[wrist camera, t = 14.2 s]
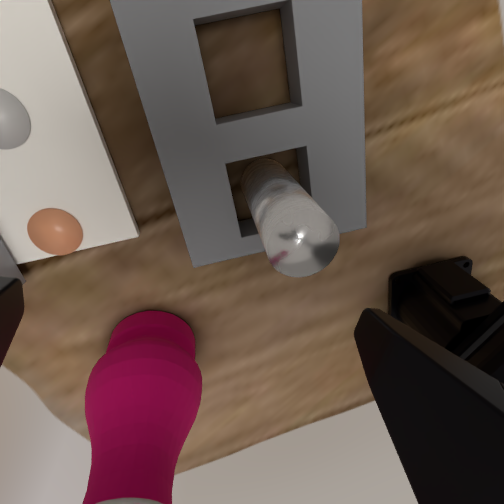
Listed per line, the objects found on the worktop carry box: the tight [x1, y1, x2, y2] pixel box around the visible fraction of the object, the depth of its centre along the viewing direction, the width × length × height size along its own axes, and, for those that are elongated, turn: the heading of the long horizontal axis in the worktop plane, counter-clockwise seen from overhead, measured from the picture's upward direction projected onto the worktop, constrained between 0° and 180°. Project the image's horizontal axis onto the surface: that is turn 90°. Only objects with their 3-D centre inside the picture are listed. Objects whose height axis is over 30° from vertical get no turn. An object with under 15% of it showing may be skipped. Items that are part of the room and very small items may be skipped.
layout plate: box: [0, 0, 140, 265], centre depth 18 cm, size 16×9×1 cm, turn 10°
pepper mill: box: [83, 311, 202, 504], centre depth 17 cm, size 7×7×20 cm
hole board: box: [110, 0, 367, 268], centre depth 17 cm, size 20×11×2 cm, turn 10°
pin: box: [241, 158, 340, 277], centre depth 18 cm, size 3×3×9 cm
